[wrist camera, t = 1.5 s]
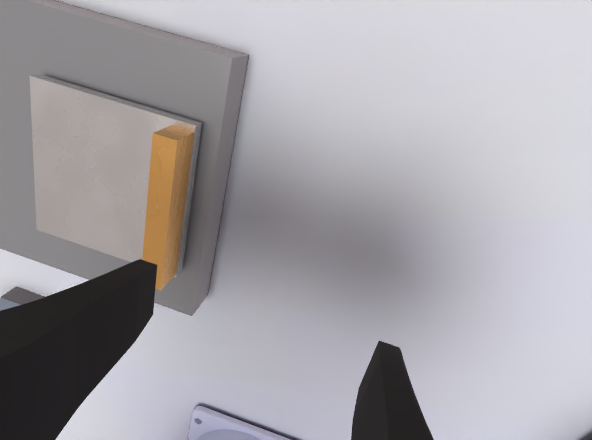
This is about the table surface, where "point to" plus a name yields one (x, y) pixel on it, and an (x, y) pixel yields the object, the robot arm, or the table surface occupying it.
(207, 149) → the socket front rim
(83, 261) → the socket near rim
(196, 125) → the panel
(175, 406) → the table surface
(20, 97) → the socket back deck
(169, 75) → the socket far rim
